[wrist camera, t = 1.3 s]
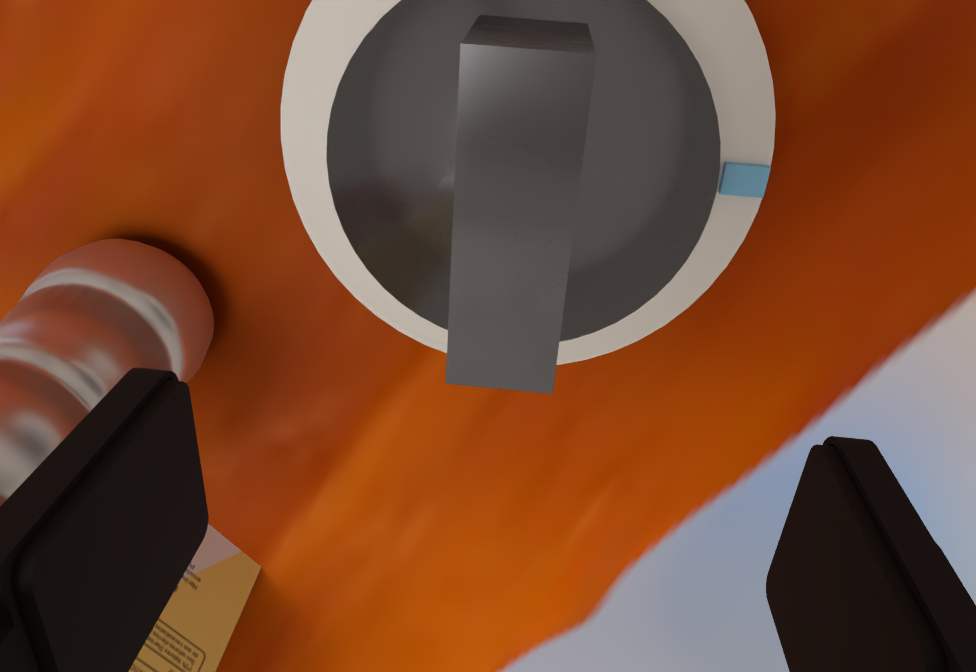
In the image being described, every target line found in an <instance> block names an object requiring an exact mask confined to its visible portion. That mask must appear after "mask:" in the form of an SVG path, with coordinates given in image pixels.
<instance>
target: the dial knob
mask: <svg viewBox="0 0 976 672" xmlns="http://www.w3.org/2000/svg"><path fill="white" fill-rule="evenodd" d="M720 149H721V141H720V133H719V125H718V116H717V112H716V109H715V105H714V101H713V97H712V94H711V90H710V88H709V85H708V83H707V81H706V78H705V76H704V74H703V71H702V69H701V66H700V64H699V63H698V61H697V59H696V58H695V56H694V54H693V53H692V51H691V50H690V48H689V46H688V45H687V43H686V41H685V40H684V39H683V38H682V36H681V35H680V34H679V33H678V32H677V30H676V29H675V28H674V27H673V26H672V24H671V23H670V22H669V21H668V19H667V18H666V17H665V16H664V15H663V14H662V13H661V12H659V11H658V10H657V9H656V8H655V7H654V6H653V5H652V4H651V3H650V2H648V1H647V0H401V1H399V2H398V3H397V4H396V5H395V6H394V7H393V8H391V9H390V10H389V11H388V12H387V13H386V14H385V15H384V16H382V17H381V19H380V20H379V21H378V22H377V23H376V24H375V26H374V27H373V28H372V29H371V30H370V31H369V33H368V34H367V35H366V36H365V37H364V39H363V40H362V42H361V43H360V45H359V46H358V48H357V50H356V51H355V53H354V54H353V56H352V57H351V59H350V61H349V63H348V65H347V67H346V69H345V71H344V74H343V76H342V78H341V80H340V82H339V85H338V88H337V91H336V95H335V98H334V101H333V105H332V108H331V113H330V119H329V125H328V132H327V158H326V160H327V169H328V179H329V186H330V190H331V194H332V198H333V202H334V207H335V210H336V212H337V215H338V218H339V220H340V223H341V226H342V228H343V231H344V233H345V234H346V236H347V238H348V240H349V242H350V244H351V246H352V248H353V250H354V251H355V253H356V254H357V256H358V257H359V259H360V260H361V261H362V263H363V264H364V266H365V267H366V269H367V270H368V271H369V272H370V273H371V275H372V276H373V277H374V278H375V279H376V280H377V281H378V282H379V284H380V285H381V286H382V287H383V288H384V289H385V290H386V291H388V292H389V293H390V294H391V295H392V296H393V297H394V298H395V299H397V300H398V301H399V302H400V303H401V304H403V305H404V306H406V307H407V308H408V309H410V310H411V311H413V312H414V313H416V314H417V315H419V316H420V317H422V318H424V319H426V320H428V321H430V322H431V323H433V324H435V325H437V326H439V327H441V328H444V329H446V330H448V342H447V365H446V384H456V385H467V386H477V387H488V388H498V389H509V390H519V391H529V392H540V393H550V394H553V387H554V380H555V372H556V364H557V356H558V349H559V342H561V341H566V340H571V339H575V338H578V337H581V336H585V335H588V334H591V333H594V332H597V331H599V330H601V329H603V328H606V327H608V326H610V325H612V324H615V323H617V322H618V321H620V320H622V319H623V318H625V317H627V316H628V315H630V314H632V313H633V312H635V311H636V310H638V309H639V308H640V307H642V306H643V305H644V304H646V303H647V302H648V301H649V300H651V299H652V298H653V297H655V296H656V295H657V294H658V293H659V292H660V291H661V290H662V289H663V288H664V287H665V286H666V285H667V284H668V283H669V282H670V281H671V280H672V279H673V277H674V276H675V275H676V274H677V272H678V271H679V270H680V269H681V267H682V266H683V265H684V264H685V262H686V261H687V259H688V258H689V256H690V254H691V253H692V251H693V249H694V248H695V246H696V245H697V243H698V241H699V239H700V237H701V235H702V233H703V230H704V228H705V226H706V224H707V221H708V219H709V216H710V213H711V210H712V206H713V203H714V199H715V196H716V192H717V185H718V179H719V172H720Z"/></svg>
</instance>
